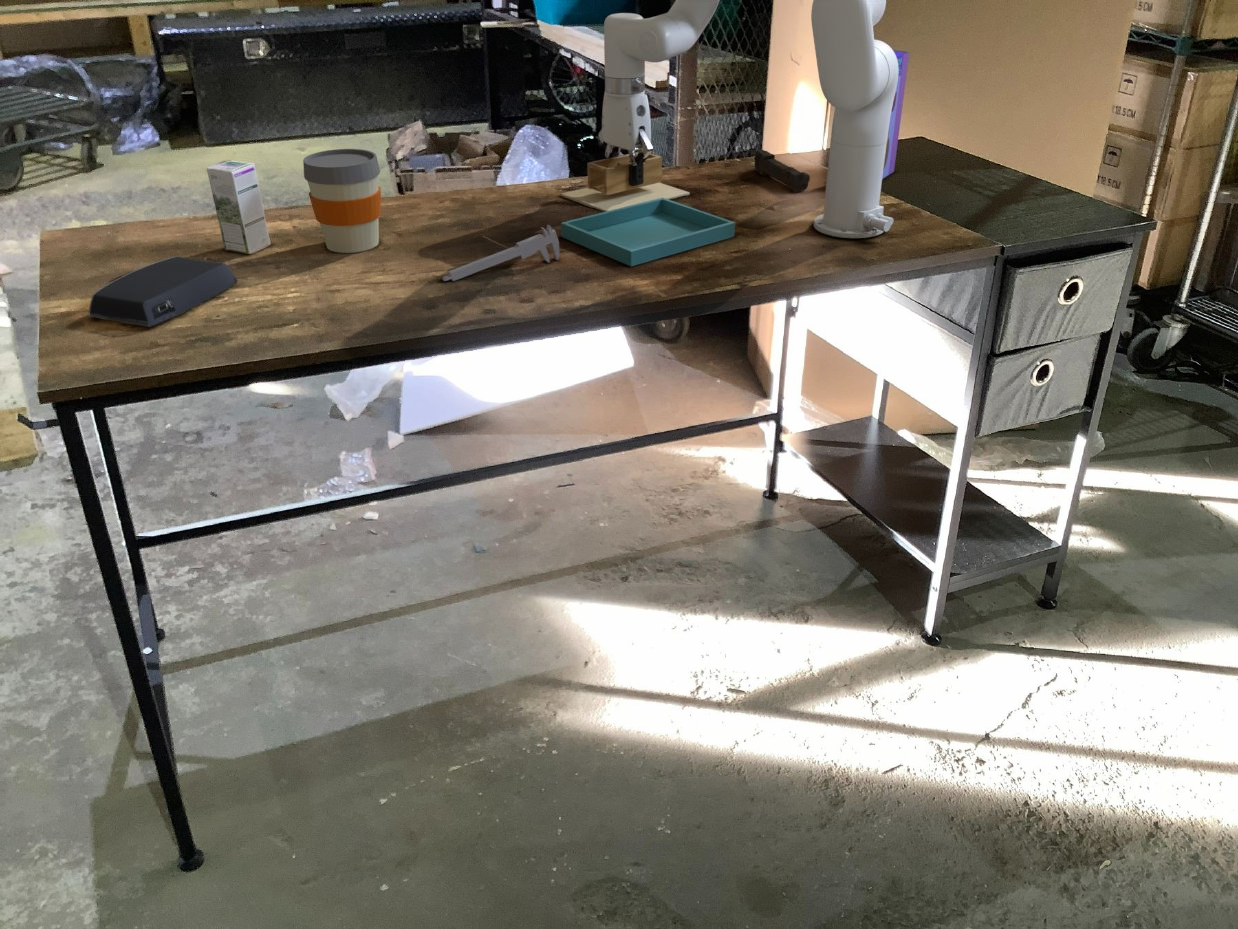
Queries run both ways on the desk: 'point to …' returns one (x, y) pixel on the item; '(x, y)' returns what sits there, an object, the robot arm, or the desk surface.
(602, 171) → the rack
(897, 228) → the desk surface
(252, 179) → the syrup box
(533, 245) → the caliper
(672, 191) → the mat
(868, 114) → the robot arm
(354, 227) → the reusable coffee cup
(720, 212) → the desk surface
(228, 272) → the hard drive
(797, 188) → the hand tool
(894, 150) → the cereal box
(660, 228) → the teal tray
